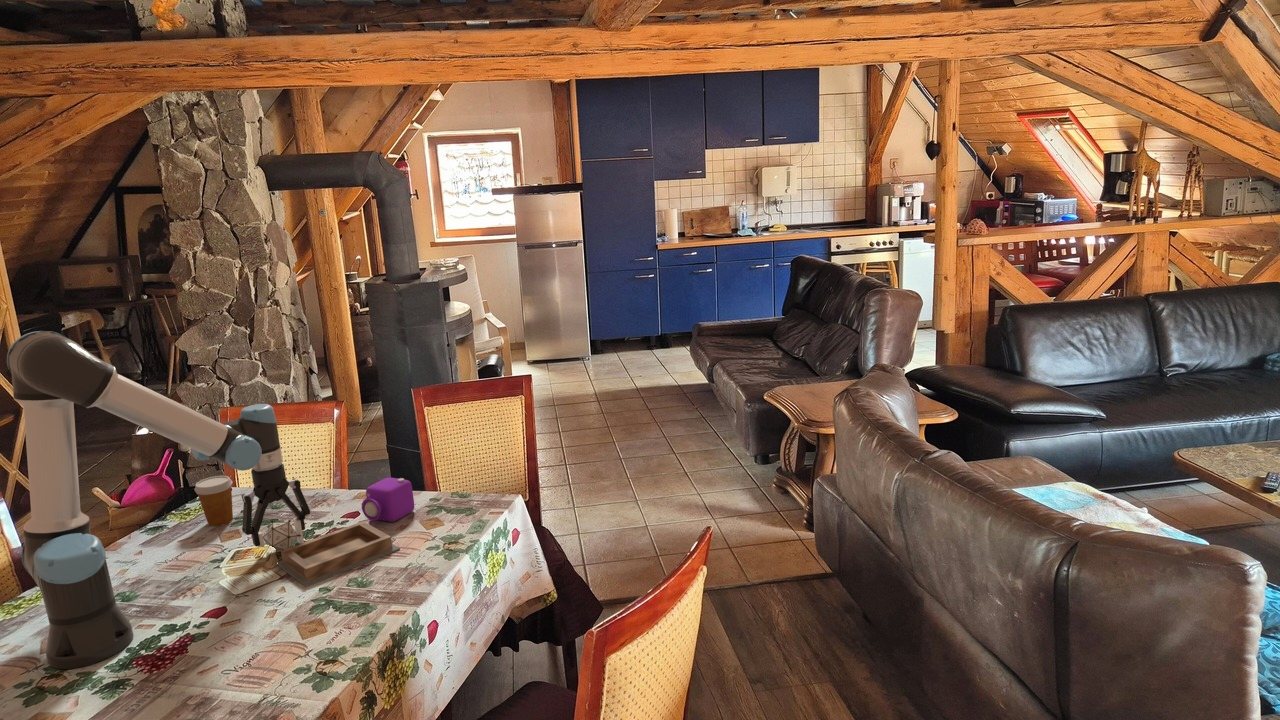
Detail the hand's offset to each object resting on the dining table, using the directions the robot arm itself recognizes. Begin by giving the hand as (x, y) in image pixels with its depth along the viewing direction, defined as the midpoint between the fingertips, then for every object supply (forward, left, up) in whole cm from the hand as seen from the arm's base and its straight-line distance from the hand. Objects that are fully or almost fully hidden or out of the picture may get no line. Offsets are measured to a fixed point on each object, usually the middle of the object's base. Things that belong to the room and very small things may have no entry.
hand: (282, 549), depth 215 cm
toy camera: (+28, -3, -1) cm, 28 cm away
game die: (0, 0, -1) cm, 1 cm away
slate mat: (+8, -15, 0) cm, 17 cm away
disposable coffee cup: (-4, +34, -1) cm, 34 cm away
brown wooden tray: (+8, -15, 0) cm, 17 cm away
